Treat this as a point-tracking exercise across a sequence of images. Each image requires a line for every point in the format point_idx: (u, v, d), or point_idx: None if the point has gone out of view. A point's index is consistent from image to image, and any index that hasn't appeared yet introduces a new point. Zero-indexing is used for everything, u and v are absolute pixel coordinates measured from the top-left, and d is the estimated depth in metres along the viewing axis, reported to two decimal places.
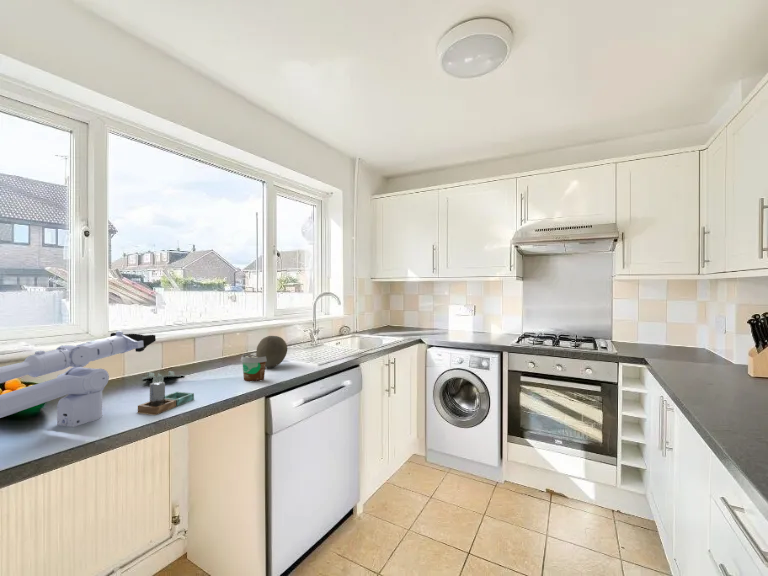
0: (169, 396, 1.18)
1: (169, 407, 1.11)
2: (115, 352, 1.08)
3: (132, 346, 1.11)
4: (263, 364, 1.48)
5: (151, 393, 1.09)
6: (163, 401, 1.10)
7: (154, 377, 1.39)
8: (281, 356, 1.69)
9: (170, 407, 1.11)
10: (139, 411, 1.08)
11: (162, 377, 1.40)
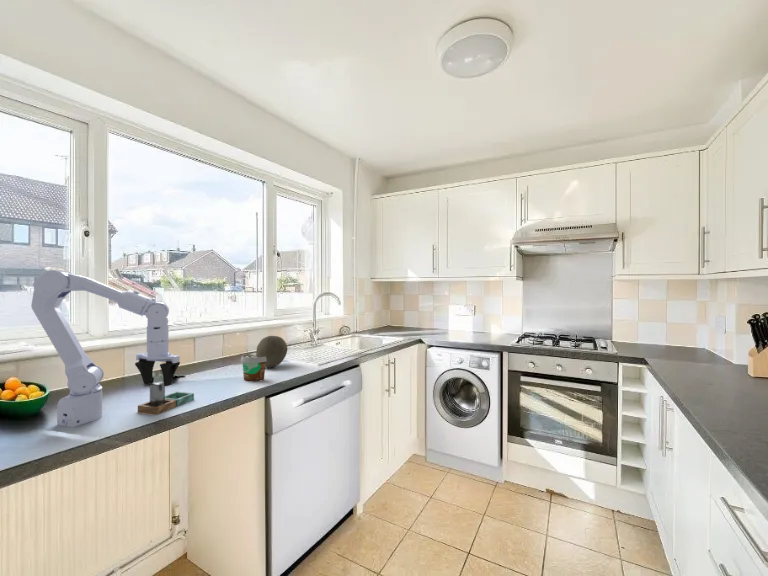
0: (169, 396, 1.18)
1: (169, 407, 1.11)
2: (159, 345, 1.08)
3: (168, 356, 1.09)
4: (263, 364, 1.48)
5: (151, 393, 1.09)
6: (163, 401, 1.10)
7: (155, 377, 1.40)
8: (281, 356, 1.69)
9: (170, 407, 1.11)
10: (139, 411, 1.08)
11: None
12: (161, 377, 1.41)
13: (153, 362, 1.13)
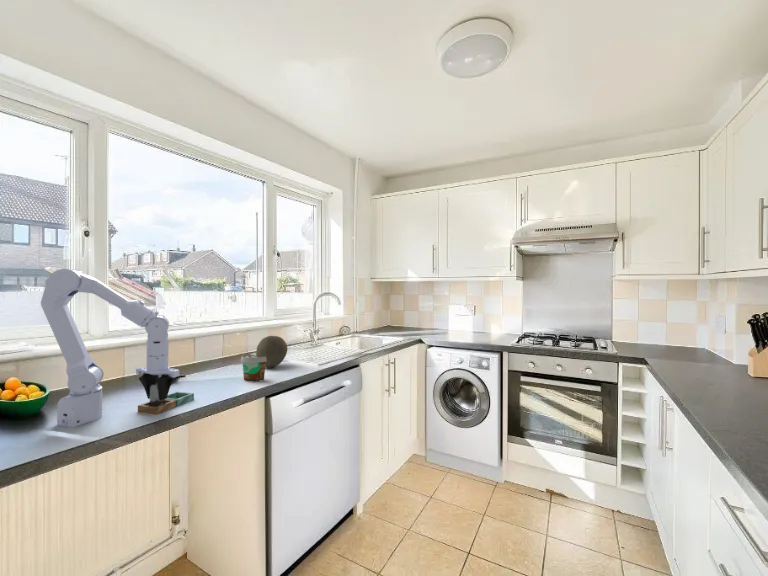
0: (169, 396, 1.18)
1: (169, 407, 1.11)
2: (158, 359, 1.08)
3: (168, 371, 1.09)
4: (263, 364, 1.48)
5: (151, 393, 1.09)
6: (163, 401, 1.10)
7: None
8: (281, 356, 1.69)
9: (170, 407, 1.11)
10: (139, 411, 1.08)
11: None
12: None
13: (157, 376, 1.13)
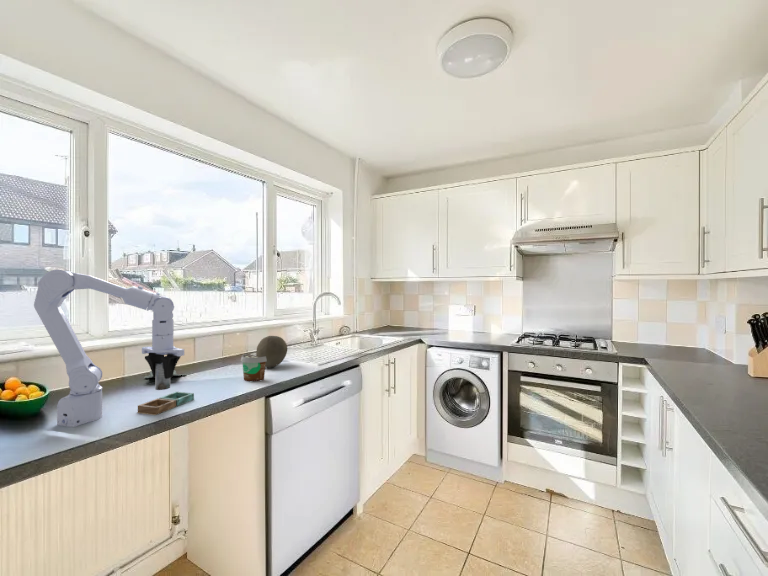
0: (169, 396, 1.18)
1: (169, 407, 1.11)
2: (164, 339, 1.10)
3: None
4: (263, 364, 1.48)
5: (157, 372, 1.10)
6: (168, 380, 1.12)
7: None
8: (281, 356, 1.69)
9: (170, 407, 1.11)
10: (139, 411, 1.08)
11: None
12: None
13: (162, 356, 1.15)
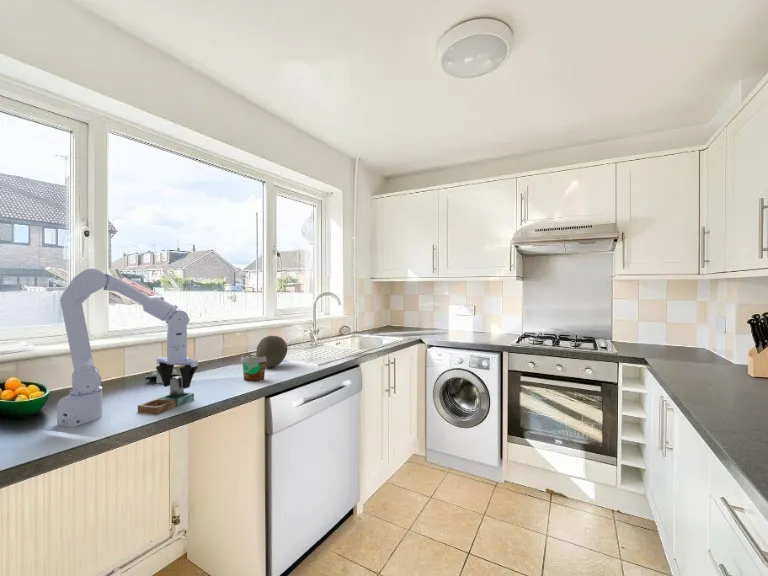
0: (169, 396, 1.18)
1: (169, 407, 1.11)
2: (178, 350, 1.16)
3: (187, 361, 1.16)
4: (263, 364, 1.48)
5: (171, 386, 1.16)
6: (182, 394, 1.18)
7: (158, 375, 1.42)
8: (281, 356, 1.69)
9: (170, 407, 1.11)
10: (139, 411, 1.08)
11: None
12: None
13: (172, 366, 1.21)
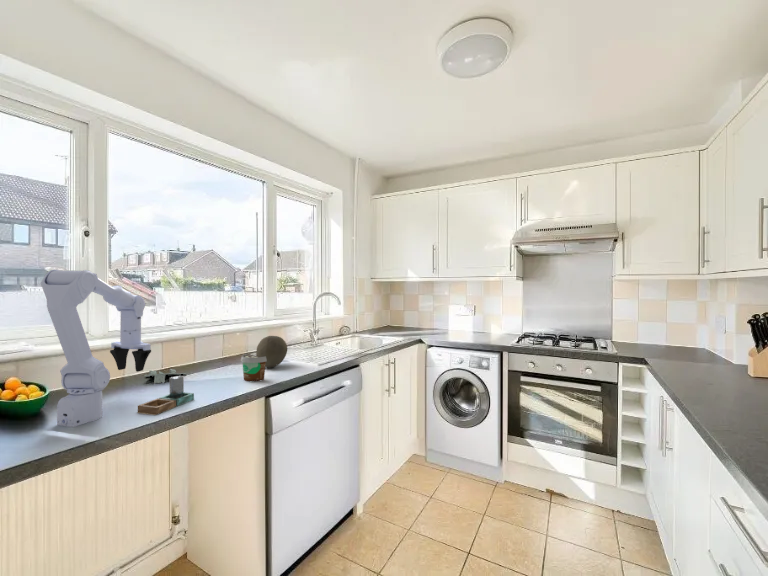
0: (169, 396, 1.18)
1: (169, 407, 1.11)
2: (131, 334, 1.19)
3: (140, 344, 1.19)
4: (263, 364, 1.48)
5: (171, 386, 1.16)
6: (182, 394, 1.18)
7: (156, 375, 1.43)
8: (281, 356, 1.69)
9: (170, 407, 1.11)
10: (139, 411, 1.08)
11: (163, 375, 1.44)
12: (162, 375, 1.44)
13: (127, 350, 1.24)
